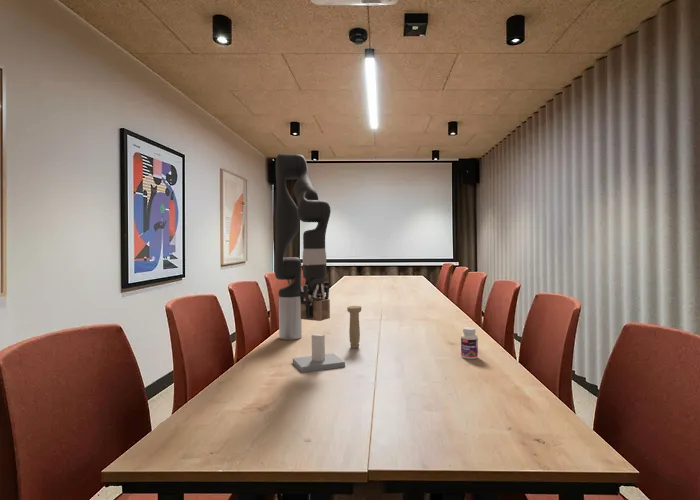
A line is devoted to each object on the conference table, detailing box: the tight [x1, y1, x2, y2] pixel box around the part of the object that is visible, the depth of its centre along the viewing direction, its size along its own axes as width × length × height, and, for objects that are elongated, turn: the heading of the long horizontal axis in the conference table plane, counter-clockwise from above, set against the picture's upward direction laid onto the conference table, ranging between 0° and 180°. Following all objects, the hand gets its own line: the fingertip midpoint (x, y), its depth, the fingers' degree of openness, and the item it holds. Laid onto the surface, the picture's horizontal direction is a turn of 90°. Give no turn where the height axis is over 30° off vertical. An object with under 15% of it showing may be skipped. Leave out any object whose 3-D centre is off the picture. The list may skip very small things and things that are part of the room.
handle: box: [346, 305, 362, 349], centre depth 152 cm, size 5×6×15 cm
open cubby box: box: [300, 298, 331, 322], centre depth 130 cm, size 7×6×6 cm
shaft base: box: [292, 333, 346, 373], centre depth 130 cm, size 11×14×10 cm
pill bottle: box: [460, 326, 479, 360], centre depth 137 cm, size 5×5×10 cm
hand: (315, 315), depth 130 cm, fingers closed on open cubby box, 5 cm apart
